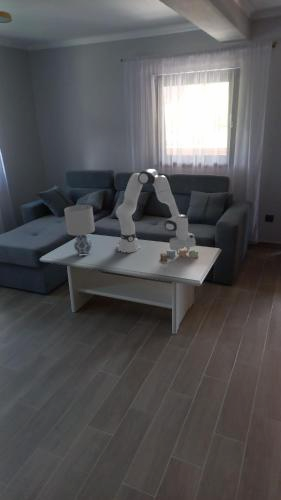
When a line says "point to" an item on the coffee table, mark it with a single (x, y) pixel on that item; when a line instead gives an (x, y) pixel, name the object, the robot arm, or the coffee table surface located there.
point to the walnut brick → (163, 257)
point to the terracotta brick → (182, 252)
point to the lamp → (80, 226)
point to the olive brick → (193, 254)
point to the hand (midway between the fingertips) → (182, 253)
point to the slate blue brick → (170, 253)
